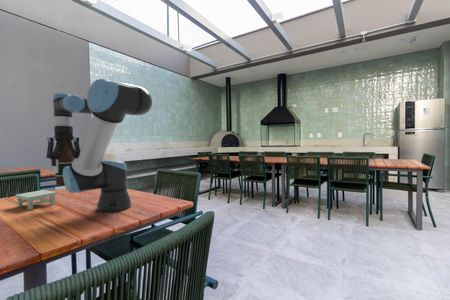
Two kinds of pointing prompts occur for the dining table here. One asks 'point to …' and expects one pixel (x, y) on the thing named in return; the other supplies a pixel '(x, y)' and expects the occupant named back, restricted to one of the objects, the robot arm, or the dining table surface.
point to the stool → (35, 198)
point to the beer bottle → (63, 161)
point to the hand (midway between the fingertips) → (65, 171)
